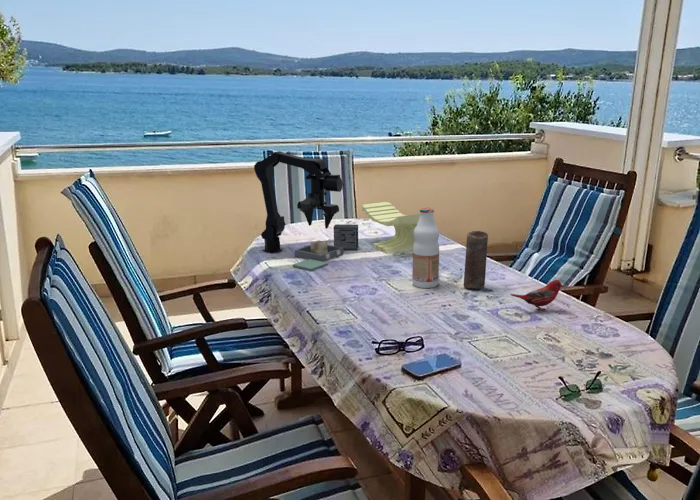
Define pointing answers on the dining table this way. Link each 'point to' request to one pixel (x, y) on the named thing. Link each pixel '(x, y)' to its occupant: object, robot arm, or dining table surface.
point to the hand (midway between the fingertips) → (318, 227)
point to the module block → (319, 247)
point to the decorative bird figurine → (542, 295)
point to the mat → (310, 265)
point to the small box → (346, 236)
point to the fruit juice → (426, 251)
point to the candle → (475, 260)
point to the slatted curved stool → (401, 223)
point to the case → (306, 254)
